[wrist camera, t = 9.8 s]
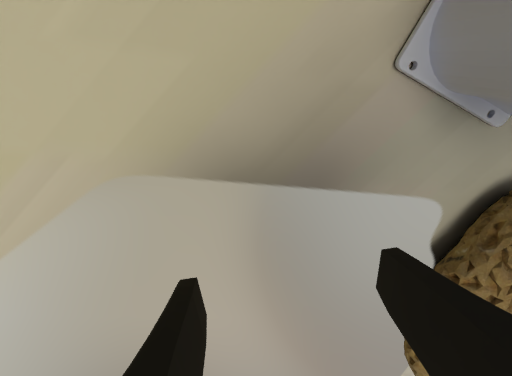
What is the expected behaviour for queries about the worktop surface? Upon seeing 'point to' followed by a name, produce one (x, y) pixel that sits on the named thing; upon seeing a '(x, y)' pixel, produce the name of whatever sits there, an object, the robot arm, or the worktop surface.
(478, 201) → the worktop surface
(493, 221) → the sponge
